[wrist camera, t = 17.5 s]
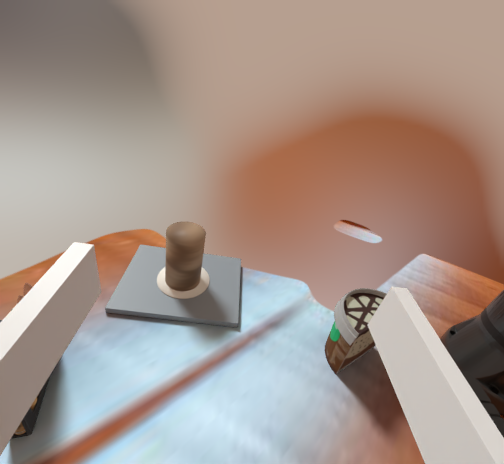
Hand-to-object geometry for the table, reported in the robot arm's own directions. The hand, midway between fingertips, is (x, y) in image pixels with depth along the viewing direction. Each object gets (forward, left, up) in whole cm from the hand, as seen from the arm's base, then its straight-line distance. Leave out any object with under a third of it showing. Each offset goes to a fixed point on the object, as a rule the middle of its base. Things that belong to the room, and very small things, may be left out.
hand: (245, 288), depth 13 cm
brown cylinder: (+7, -27, -26) cm, 39 cm away
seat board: (+7, -27, -28) cm, 39 cm away
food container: (-20, -18, -28) cm, 39 cm away
